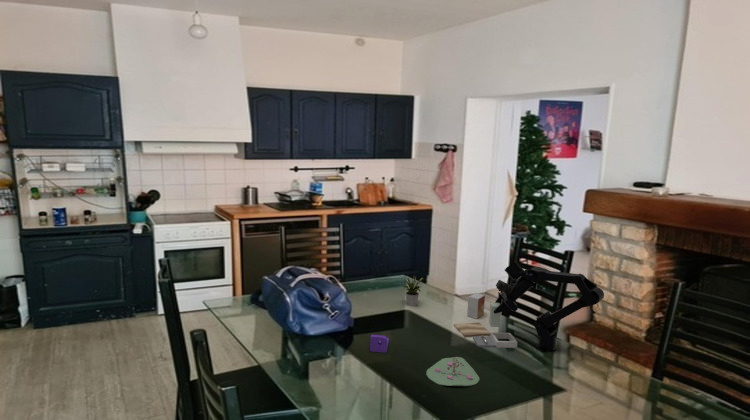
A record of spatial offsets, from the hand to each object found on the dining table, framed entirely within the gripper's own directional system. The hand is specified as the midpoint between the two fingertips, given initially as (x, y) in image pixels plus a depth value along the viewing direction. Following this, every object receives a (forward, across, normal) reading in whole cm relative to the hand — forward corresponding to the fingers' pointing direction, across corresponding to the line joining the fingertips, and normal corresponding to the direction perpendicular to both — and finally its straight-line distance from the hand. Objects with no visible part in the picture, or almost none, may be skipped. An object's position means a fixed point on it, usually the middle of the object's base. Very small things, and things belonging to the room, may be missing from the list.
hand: (493, 310), depth 221 cm
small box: (+12, -27, +7) cm, 30 cm away
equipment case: (+9, +5, +10) cm, 14 cm away
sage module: (+4, 0, +5) cm, 7 cm away
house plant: (+36, -37, -17) cm, 55 cm away
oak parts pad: (+15, -7, +4) cm, 17 cm away
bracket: (+44, +15, -26) cm, 53 cm away
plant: (+24, +34, -4) cm, 41 cm away
